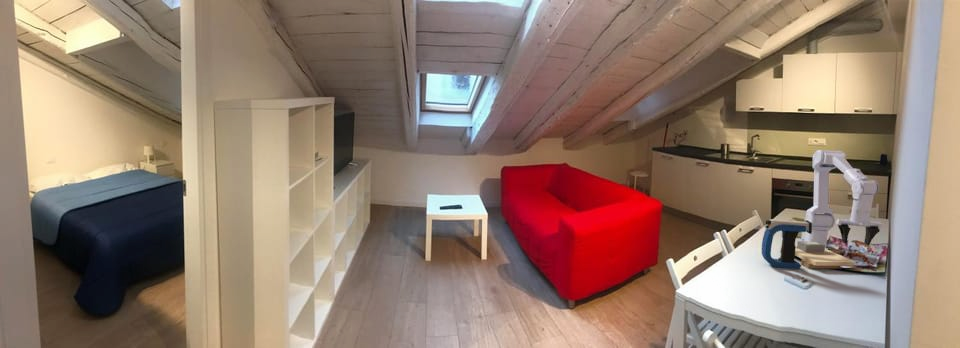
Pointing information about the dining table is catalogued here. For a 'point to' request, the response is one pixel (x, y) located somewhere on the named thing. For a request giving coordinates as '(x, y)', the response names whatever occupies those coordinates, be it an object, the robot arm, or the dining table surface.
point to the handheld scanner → (783, 241)
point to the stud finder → (810, 246)
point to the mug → (798, 220)
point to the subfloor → (822, 259)
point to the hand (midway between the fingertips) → (855, 243)
